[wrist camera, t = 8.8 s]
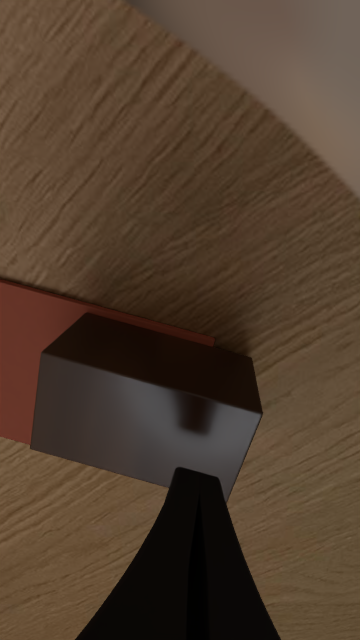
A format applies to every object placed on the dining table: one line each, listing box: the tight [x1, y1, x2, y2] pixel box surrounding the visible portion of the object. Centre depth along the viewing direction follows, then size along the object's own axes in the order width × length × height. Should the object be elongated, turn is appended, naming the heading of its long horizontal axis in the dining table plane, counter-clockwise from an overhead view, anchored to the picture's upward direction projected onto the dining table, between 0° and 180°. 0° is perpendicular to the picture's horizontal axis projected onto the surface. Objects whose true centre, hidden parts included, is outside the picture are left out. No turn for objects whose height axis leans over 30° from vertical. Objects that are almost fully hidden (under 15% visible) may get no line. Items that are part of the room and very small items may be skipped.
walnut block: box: [30, 312, 263, 503], centre depth 15 cm, size 4×4×8 cm
